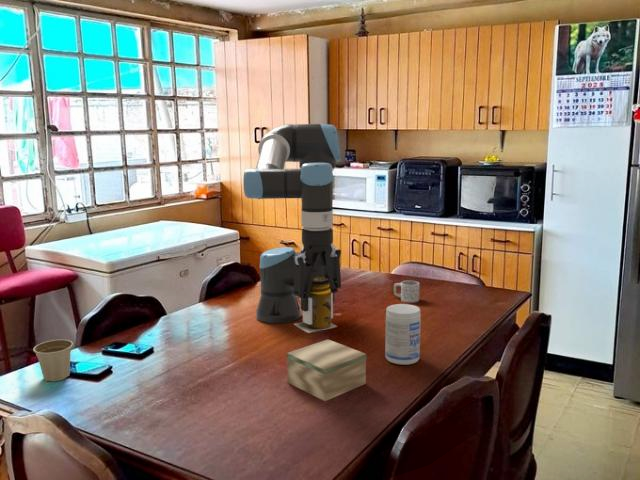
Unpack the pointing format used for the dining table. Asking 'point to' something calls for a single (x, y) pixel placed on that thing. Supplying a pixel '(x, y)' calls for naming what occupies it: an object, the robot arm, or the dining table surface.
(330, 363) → the wooden box
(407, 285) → the mug
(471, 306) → the dining table surface
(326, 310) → the condiment
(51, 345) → the flower pot
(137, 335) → the dining table surface
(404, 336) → the supplement tub
